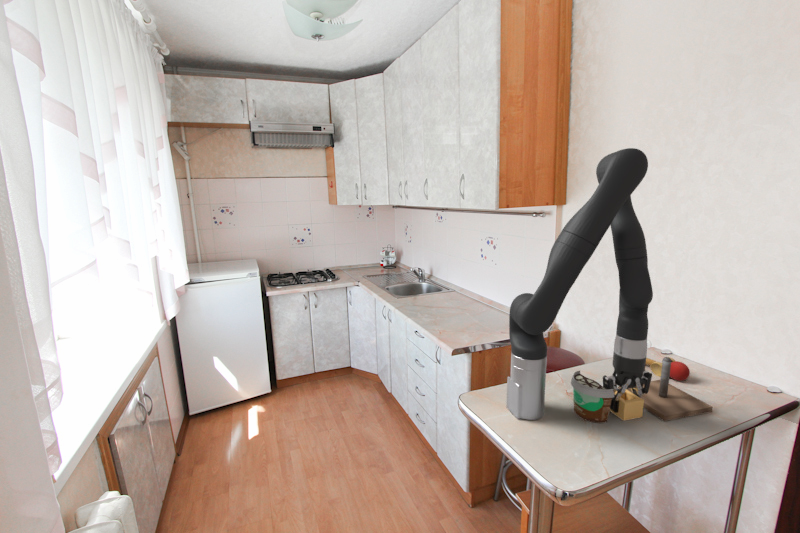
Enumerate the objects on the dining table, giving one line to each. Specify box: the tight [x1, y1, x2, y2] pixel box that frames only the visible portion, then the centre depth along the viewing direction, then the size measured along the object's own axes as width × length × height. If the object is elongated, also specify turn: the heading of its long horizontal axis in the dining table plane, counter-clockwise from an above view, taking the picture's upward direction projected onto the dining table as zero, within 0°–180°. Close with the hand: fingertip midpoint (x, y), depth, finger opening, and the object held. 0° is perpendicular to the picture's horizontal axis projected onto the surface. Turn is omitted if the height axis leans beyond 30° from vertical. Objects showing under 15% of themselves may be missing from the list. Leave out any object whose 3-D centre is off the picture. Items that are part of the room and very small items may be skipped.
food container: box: [570, 370, 614, 424], centre depth 104 cm, size 12×6×10 cm, turn 19°
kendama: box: [645, 356, 690, 382], centre depth 127 cm, size 8×6×18 cm
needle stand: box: [617, 356, 714, 422], centre depth 109 cm, size 16×16×14 cm
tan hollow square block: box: [609, 389, 644, 421], centre depth 105 cm, size 6×6×5 cm
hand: (624, 409), depth 105 cm, fingers closed on tan hollow square block, 6 cm apart
